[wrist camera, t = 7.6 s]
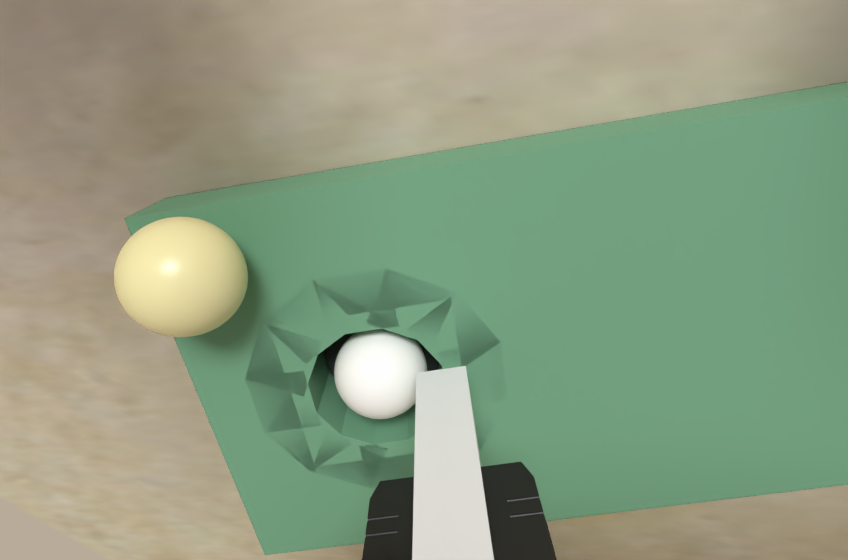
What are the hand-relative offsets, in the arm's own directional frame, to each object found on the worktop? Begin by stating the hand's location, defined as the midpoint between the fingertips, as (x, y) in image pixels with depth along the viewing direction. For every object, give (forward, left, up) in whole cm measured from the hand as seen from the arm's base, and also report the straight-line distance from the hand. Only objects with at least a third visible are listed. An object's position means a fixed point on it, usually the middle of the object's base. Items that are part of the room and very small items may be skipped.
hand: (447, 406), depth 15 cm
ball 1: (-6, -6, 0) cm, 8 cm away
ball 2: (0, -2, -2) cm, 3 cm away
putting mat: (0, +4, -4) cm, 5 cm away
